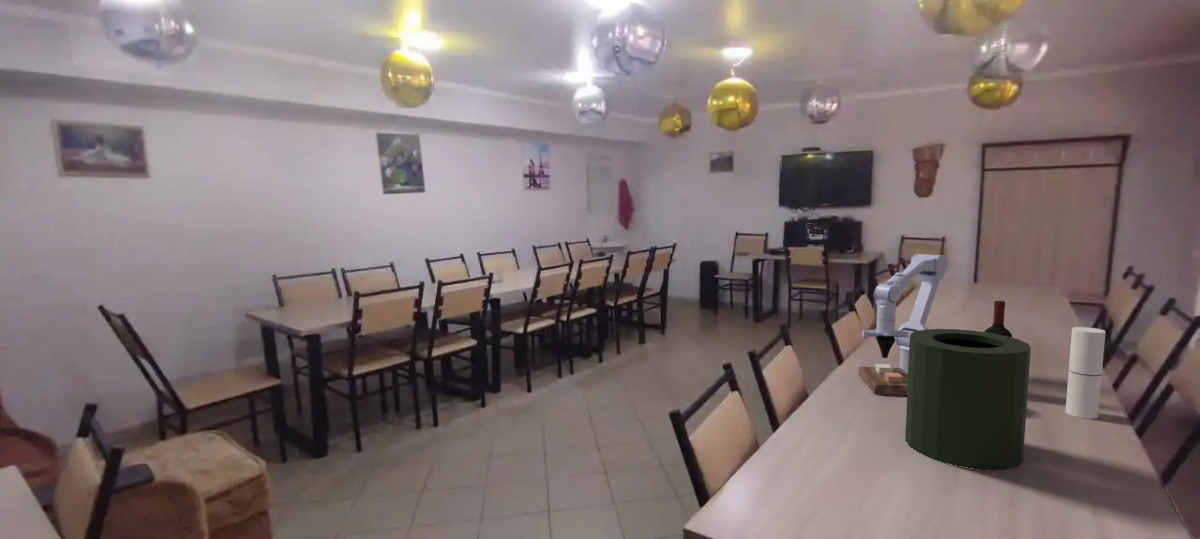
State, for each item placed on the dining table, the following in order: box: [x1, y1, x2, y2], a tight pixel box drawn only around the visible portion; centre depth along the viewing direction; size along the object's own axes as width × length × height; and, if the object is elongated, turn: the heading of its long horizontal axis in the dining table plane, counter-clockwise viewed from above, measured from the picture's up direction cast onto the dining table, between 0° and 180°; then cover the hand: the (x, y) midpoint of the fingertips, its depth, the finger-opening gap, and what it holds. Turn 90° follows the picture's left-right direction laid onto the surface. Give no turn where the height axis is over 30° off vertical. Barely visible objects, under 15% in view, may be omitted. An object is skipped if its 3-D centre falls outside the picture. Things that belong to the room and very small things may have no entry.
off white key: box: [874, 363, 894, 374], centre depth 193 cm, size 4×4×3 cm
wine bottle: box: [983, 300, 1013, 338], centre depth 178 cm, size 8×8×30 cm
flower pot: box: [904, 328, 1032, 472], centre depth 139 cm, size 25×25×28 cm
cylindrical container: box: [1065, 326, 1106, 420], centre depth 159 cm, size 7×7×25 cm
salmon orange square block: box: [884, 372, 903, 383], centre depth 183 cm, size 4×4×3 cm
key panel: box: [857, 366, 908, 396], centre depth 188 cm, size 14×20×3 cm
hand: (884, 357), depth 192 cm, fingers closed
